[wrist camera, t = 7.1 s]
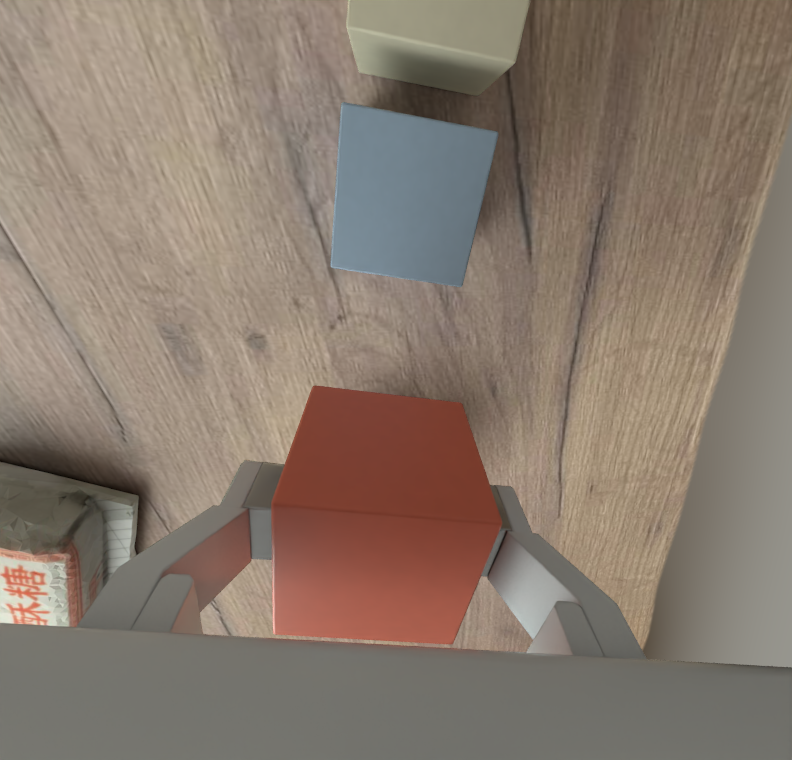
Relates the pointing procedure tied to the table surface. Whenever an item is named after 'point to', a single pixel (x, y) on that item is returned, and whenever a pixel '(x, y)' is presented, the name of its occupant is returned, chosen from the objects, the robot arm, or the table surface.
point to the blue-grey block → (408, 194)
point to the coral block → (380, 520)
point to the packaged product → (59, 544)
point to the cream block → (437, 40)
